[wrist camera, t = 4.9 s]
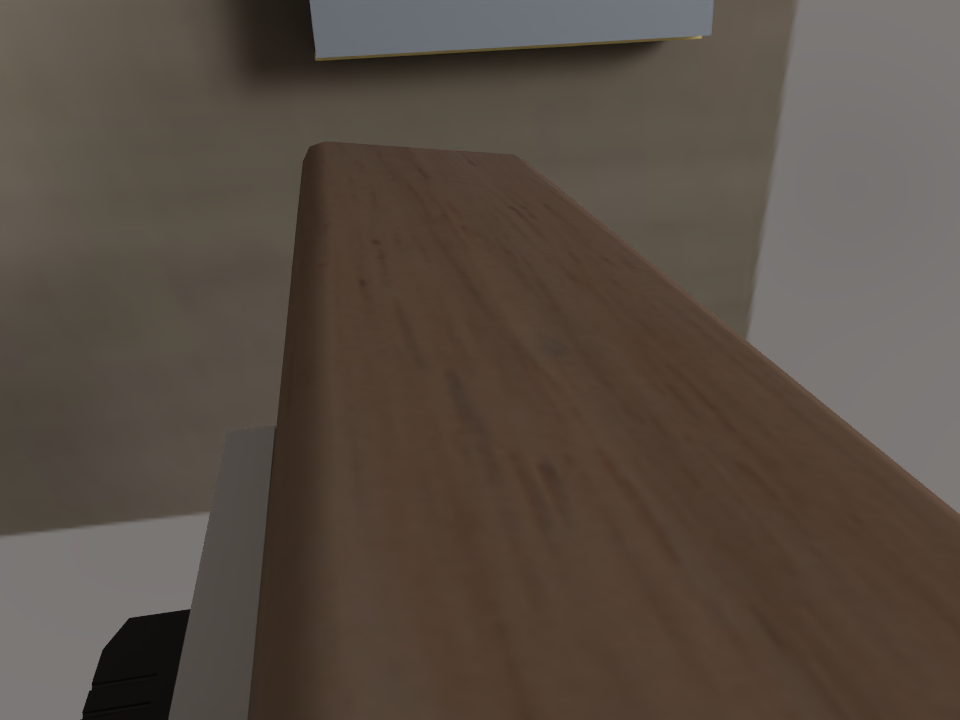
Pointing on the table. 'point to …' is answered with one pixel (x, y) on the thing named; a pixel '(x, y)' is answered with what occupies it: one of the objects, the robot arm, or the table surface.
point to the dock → (496, 25)
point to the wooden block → (566, 482)
